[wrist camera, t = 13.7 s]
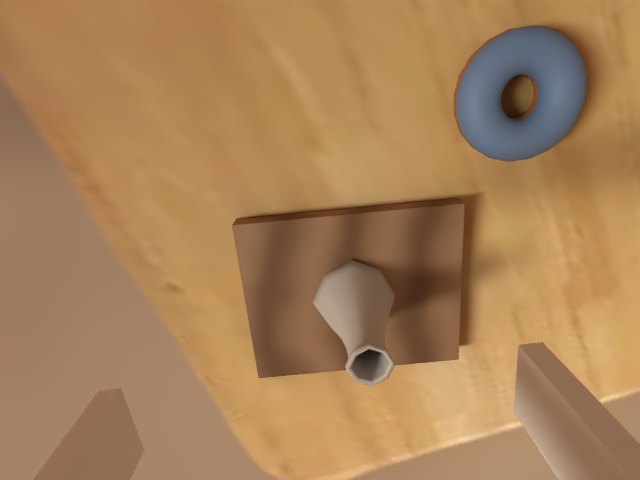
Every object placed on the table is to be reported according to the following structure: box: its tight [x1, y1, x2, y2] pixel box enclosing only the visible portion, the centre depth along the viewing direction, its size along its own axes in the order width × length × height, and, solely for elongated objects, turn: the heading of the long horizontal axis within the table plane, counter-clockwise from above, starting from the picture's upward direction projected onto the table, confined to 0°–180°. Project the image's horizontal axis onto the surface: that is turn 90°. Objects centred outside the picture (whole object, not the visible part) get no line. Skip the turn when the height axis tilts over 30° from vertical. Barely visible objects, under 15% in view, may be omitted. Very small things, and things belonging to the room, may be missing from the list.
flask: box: [312, 260, 395, 386], centre depth 30 cm, size 7×7×10 cm
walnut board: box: [232, 198, 465, 378], centre depth 36 cm, size 20×16×2 cm
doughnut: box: [454, 26, 588, 161], centre depth 30 cm, size 10×10×5 cm
